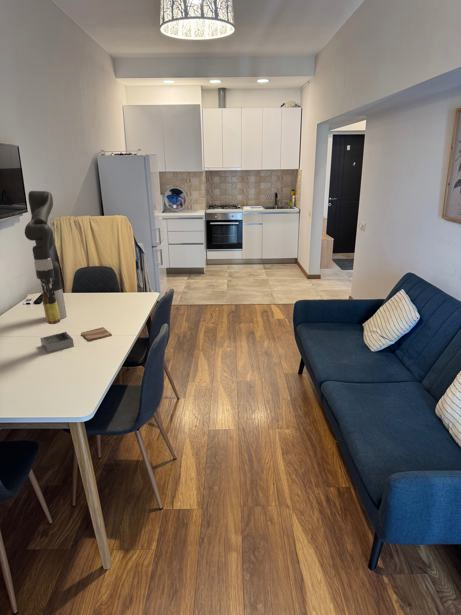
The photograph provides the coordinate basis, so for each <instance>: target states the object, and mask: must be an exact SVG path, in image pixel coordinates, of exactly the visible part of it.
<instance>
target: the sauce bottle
mask: <svg viewBox="0 0 461 615" xmlns="http://www.w3.org/2000/svg"><path fill="white" fill-rule="evenodd" d="M40 285H42V286H41V289H42V288H43V290H42V292H43V293H42V296H41V300H42V306H43V310H44V316H45V319H46V324H49V325H56V324H59V323H60V322H61V319H60V314H59V310H58V305H57V300H56V297H55V296H53V297H54V304H49V299H48V295H47V292H45V288H44V286H43V284H41V283H40ZM47 290H48V289H47ZM50 293H51V292H50Z"/></svg>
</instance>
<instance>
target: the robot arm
mask: <svg viewBox="0 0 461 615" xmlns="http://www.w3.org/2000/svg"><path fill="white" fill-rule="evenodd" d="M27 198H28V199H27V200H28V204H29V209H30V214H31V217H30V218H31V219H30V220H29V222H28V223H27V224H26V226H25V228H24V235H25V237H26V238H27V240H28V241H33V242H34V241H35V242H34V243H35V245H33V247H32V253H33V254H32V256H33V260H34V268H35V275H36V279H38V280H40V285H41V284H43V286H44V288H45V292H47V295H48V299H49V304H54V297H53V296H55V297H56V300H57V305H58V310H59V314H60V320H62V319H65V318H67V317H68V316H67V309H66V304H65V298H64V291H63V284H62V279H61V277H62V276H61V268H60V264H59V262H58V261H56V260H55V261H54V260H53V261H52V258H51V252H50V251H51V250H52V249H53V246H54V243H55V240H54V231H53V229H52V228H51V227H50V225H49V224H48V221H49V216H50V215H51V212H52V210H53V206H54V198H53V195H52V193H51V192H50V191H48V190H47V191H45V190H41V191H40V190H31V191H29V192H28V196H27ZM51 279H52V280H51ZM47 289H48V290H47ZM41 290H42V291H43V288H42V285H41ZM50 292H51V293H50Z"/></svg>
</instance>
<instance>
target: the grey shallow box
mask: <svg viewBox="0 0 461 615" xmlns="http://www.w3.org/2000/svg"><path fill="white" fill-rule="evenodd" d="M40 343H41V347H42V348H43V349H44V350H45V351H46V353H47V354H50V353H54V352H57V351H60V350H61V351H62V350H66V349H69V348H73V347H75V343H74V339H73V337H72V336H71V335H70V334H69V333H67V331H64V332H61V333H60V332H59V333H55V334H51V335H47V336H44V337H40Z"/></svg>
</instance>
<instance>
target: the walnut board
mask: <svg viewBox="0 0 461 615" xmlns="http://www.w3.org/2000/svg"><path fill="white" fill-rule="evenodd" d="M80 334H81V336H82V337H84V339H86V340H87V341H88V342H93V341H97V340H100V339H104V338H108V337H111V336H113V335H112V333H111V332H110V331H109V330H107V329H106V328H105V327H103V326H102V327H99V328H94V329H90V330H87V331H82V332H81V333H80Z"/></svg>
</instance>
